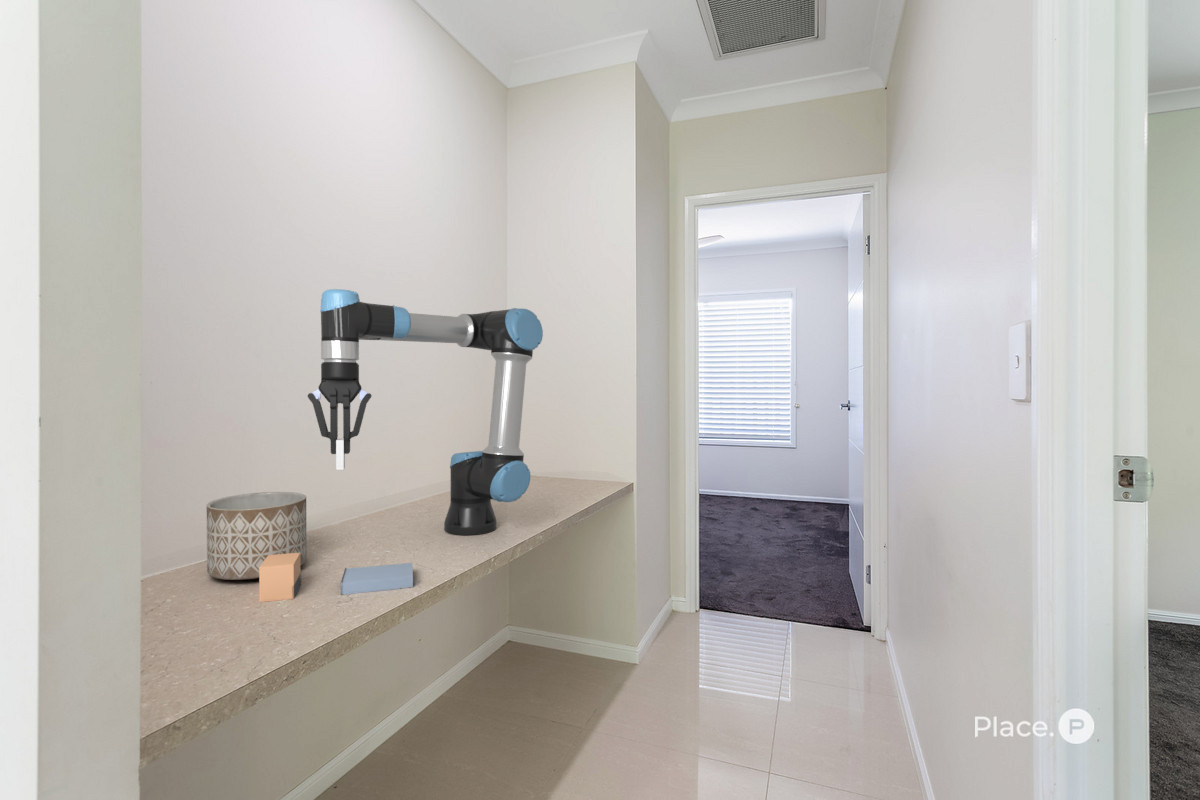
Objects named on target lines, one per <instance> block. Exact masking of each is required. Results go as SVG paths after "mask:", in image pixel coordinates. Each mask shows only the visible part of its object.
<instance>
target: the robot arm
mask: <svg viewBox="0 0 1200 800" xmlns="http://www.w3.org/2000/svg"><path fill="white" fill-rule="evenodd" d="M319 311H320V328H321V331H320V332H321V338H320V339H321V341H320V358H321V360H323V361H324V362H323V361H322V362H321V364H320V368H321V370H320V373H321V377H320V378H321V381H320V383H319V385H318V389H316V390H314V391H313V392H309V393H308V394H307V398H308V400H309V401H310V402H311V403H312V406H313V409H314V414H315V417H316V422H317V424H318V428H319V431H320V436H321V437H323V438H327V439H329V441H330V453H331V455H335V468H336V469H335V470H337V471H338V470H339V471H340V470H341V471H342V470H343V471H344V469H345V467H346V455H348V454H350V453H351V440H352V438H355V437H357V436H359V434H360V431H361V427H362V424H363V423H362V422H363V419H364V415H365V412H366V407H367V404H368V403H369V401H370V399H371V398H373V397H372V394H371V393H369V392H367V391H365V390H364V389H363V388H362V385H361V383H360V365H359V363H358V362H357V361H359V360H360V357H359V356H360V340H361V341H389V342H391V341H392V342H413V343H414V342H415V343H416V342H418V343H439V344H457V346H459V347H460V348H473V349H479V350H483V351H484V350H486V351H490V352H491V353H490V355H491V356H492V358H493V359H494V361H495V367H494V379H493V387H492V388H493V391H492V401H491V402H492V403H491V414H490V421H489V435H488V444H487V446H486V447H485V448H484V449H482V450H478V451H477V450H475V451H474V450H473V451H465V452H456V453H453V455H452V456H451V457H450V466H449V468H450V502H449V503H450V504H449V507H448V509H447V510H448V511H447V514H446V516H445V519H444V523H443V524H444V525H443V529H444V532H445V533H448V534H452V535H456V536H457V535H458V536H476V535H483V534H487V533H490V532H493V531H495V530H496V529H497V519H496V518H497V517H496V515H495V511H494V509H493V506H492V503H491V501H492V500H493V501H495V502H496V501H497V502H498V503H500V502H503V503H514V502H515V501H517V500H520V498H522V496H523V495H524V494H526V492H527V491H528V488H529V486H530V483H531V471H530V468H528V467H529V466H528V465H527V464H526V463H525V462H524V459H525V458H524V455H525V453H524V452H523V451H522V450H521V449H520V442H521V429H522V428H521V427H522V417H523V407H524V406H523V405H524V395H525V384H526V382H525V381H526V372H527V364H528V363H529V362H530V361H531V360H532V359H533V354H534V350H535V349H537V348H539V345H541V343H542V341H543V336H544V335H543V333H544V330H543V326H542V323H541V321H540V319H538V316H537V315H536V314H535V312H533V311H532V310H529V309H528V308H518V307H517V308H516V307H514V308H510V309H502V310H491V311H485V312H480V313H460V314H459V315H458V316H452V315H451V316H450V315H449V316H448V315H441V314H440V315H439V314H426V313H425V314H424V313H412V312H409V311H408V310H407V308H405V307H401V306H395V305H394V304H393V305H386V304H379V303H368V302H364V301H360V296H359V293H358V292H356V291H354V290H349V289H337V288H335V289H334V288H333V289H326V290H324V291H323V292H322V293H321V299H320V310H319ZM321 395H322V396H323V397H324V399H325V400H326V401H327V402H328V403H329V408H330V409H329V411H330V415H329V418H330V419H329V424H330V425H329V426H330V427H329V428H330V430H329V429H328V426H327V421H326V419H325V414H324V411H323V407H322V403H321V401H320V400H321V399H322V397H321ZM358 395H359V398H358V399H359V400H360V403H359V406H358V410H357V415H356V418H355V421H354V422H355V423H354V425H353V429H352V431H351V403H352V402H353V401H354V400H355V399H356V398H357V396H358ZM339 404H341V405H342V410H343V411H342V413H343V414H342V415H343V416H342V421H343V425H342V426H343V427H342V429H343V430H342V431H343V436H342V438H338V435H339V433H338V431H339V429H338V428H339V426H338V422H339V421H338V420H339V419H338V418H339V416H338V412H339V411H338V408H339ZM345 454H346V455H345Z"/></svg>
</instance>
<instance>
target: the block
mask: <svg viewBox="0 0 1200 800" xmlns="http://www.w3.org/2000/svg"><path fill="white" fill-rule="evenodd" d="M301 574H302V573H301V565H300V553H289V554H276V555H268V556H267V558H266V559H265V560H264V562H263V563H262V564H261V566H260V567H259V579H258V581H259V587H258V588H259V603H266V602H276V601H285V600H286V601H287V600H293V599H295V597H296V595H297V594H298V591H299V589H300V587H301V585H302V584H301V581H302V580H301V578H302V577H301Z"/></svg>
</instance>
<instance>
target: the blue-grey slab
mask: <svg viewBox="0 0 1200 800" xmlns="http://www.w3.org/2000/svg"><path fill="white" fill-rule="evenodd" d="M342 574H343V575H342V577H341V580H340V595H341V596H342V595H352V594H363V593H371V592H380V591H388V590H389V591H392V590H400V588H402V589H408V588H407V587H411V588H413V587H414V585H413V584H414V573H413V562H405V563H395V564H394V563H393V564H383V565H372V566H362V567H349V568H346V567H345V568H344V571H343V573H342Z"/></svg>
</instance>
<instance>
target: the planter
mask: <svg viewBox="0 0 1200 800" xmlns="http://www.w3.org/2000/svg"><path fill="white" fill-rule="evenodd" d="M307 544H308V543H307V496H306V495H305V494H303V493H301V492H299V493H298V492H294V491H293V492H291V491H268V492H267V491H266V492H264V491H263V492H252V493H243V494H236V495H230V496H226V497H221V498H217V499H214V500H212V501H210V502H208V503H207V504H206V568H207V569H206V570H207V574H208V575H209V576H210V577H212V578H215V579H219V580H228V581H229V580H231V581H232V580H233V581H250V580H252V581H253V580H259V567H260V566H261V564H262V563H263V562H264V560H265V559H266V558H267V556H268V555H276V554H289V553H300V566H302V565H303V564H305V562H306V560H307V556H308V555H307V551H308V550H307V548H308V547H307Z"/></svg>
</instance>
